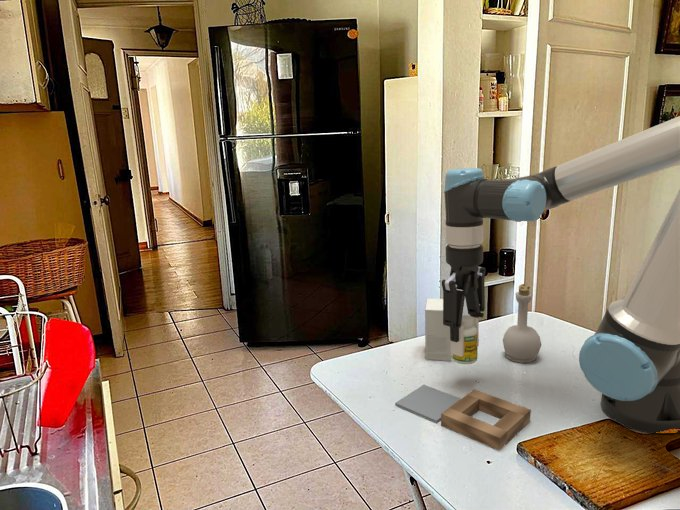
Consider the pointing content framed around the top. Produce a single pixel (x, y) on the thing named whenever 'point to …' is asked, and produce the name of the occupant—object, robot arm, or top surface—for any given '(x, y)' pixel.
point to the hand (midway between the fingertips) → (464, 349)
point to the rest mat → (427, 402)
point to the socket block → (488, 434)
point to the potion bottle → (522, 332)
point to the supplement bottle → (468, 342)
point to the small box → (436, 332)
